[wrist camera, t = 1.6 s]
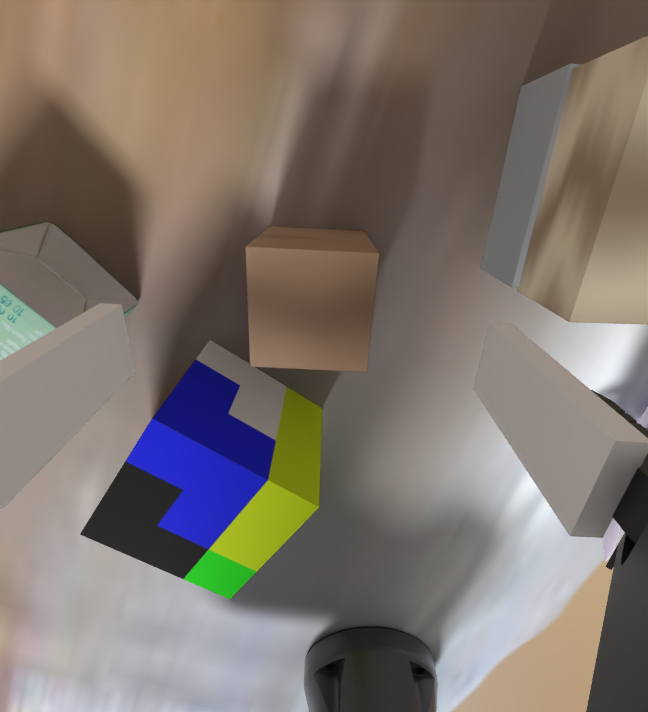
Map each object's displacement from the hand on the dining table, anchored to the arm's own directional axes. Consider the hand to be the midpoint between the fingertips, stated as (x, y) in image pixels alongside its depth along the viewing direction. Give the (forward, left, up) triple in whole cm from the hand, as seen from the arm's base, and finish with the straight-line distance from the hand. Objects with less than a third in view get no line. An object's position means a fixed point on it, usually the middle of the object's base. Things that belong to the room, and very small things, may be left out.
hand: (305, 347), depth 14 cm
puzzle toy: (-12, +6, -13) cm, 19 cm away
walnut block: (0, 0, -13) cm, 13 cm away
